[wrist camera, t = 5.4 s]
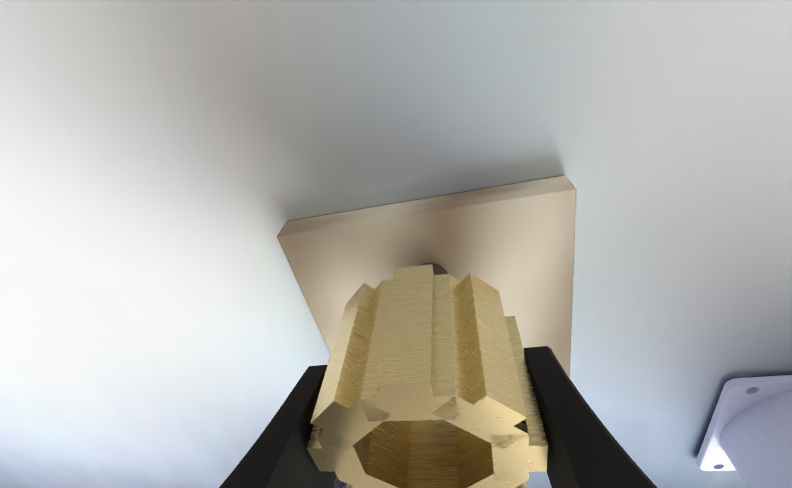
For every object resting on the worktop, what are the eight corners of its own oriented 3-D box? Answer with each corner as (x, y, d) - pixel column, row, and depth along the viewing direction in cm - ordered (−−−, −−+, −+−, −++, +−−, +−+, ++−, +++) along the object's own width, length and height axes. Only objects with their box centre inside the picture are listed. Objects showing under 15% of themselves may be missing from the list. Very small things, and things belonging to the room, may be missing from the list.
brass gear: (513, 256, 10) (551, 378, 7) (516, 384, 13) (544, 514, 10) (322, 275, 11) (273, 390, 8) (364, 390, 14) (342, 511, 11)
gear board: (565, 175, 13) (617, 241, 10) (561, 408, 21) (590, 498, 17) (286, 221, 15) (239, 291, 12) (371, 418, 23) (359, 500, 19)
